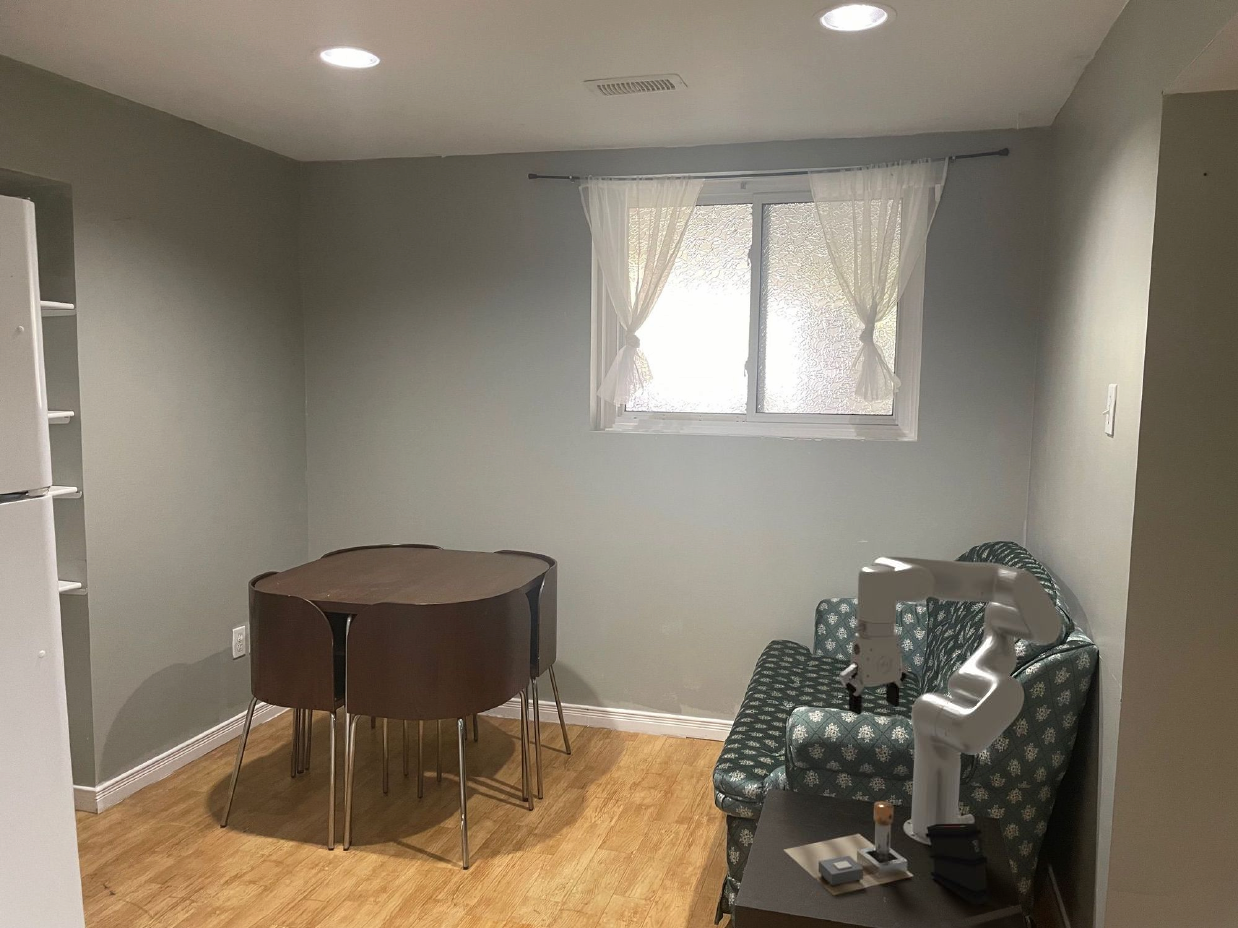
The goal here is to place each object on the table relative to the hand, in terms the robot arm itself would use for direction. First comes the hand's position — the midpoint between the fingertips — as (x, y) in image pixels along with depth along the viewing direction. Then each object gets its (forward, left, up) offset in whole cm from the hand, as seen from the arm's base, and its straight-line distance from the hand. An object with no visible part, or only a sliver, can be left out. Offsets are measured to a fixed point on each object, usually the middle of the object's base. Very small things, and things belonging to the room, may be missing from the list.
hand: (873, 708), depth 194 cm
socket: (+1, +6, -31) cm, 32 cm away
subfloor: (+7, +2, -32) cm, 33 cm away
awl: (+1, +6, -31) cm, 32 cm away
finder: (+12, +7, -31) cm, 34 cm away
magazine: (-8, +17, -32) cm, 37 cm away
